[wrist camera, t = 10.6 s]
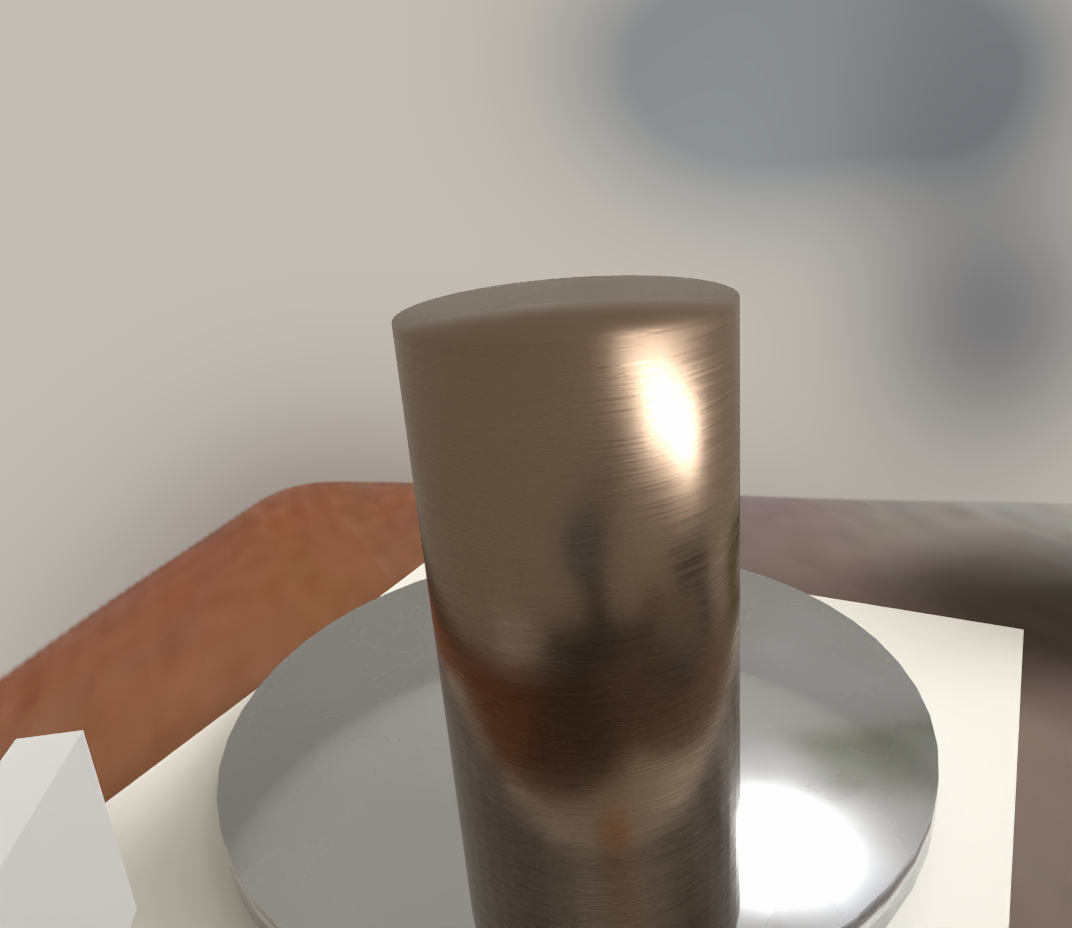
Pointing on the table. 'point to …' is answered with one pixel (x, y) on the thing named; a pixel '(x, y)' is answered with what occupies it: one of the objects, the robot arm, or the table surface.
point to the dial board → (910, 637)
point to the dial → (580, 661)
